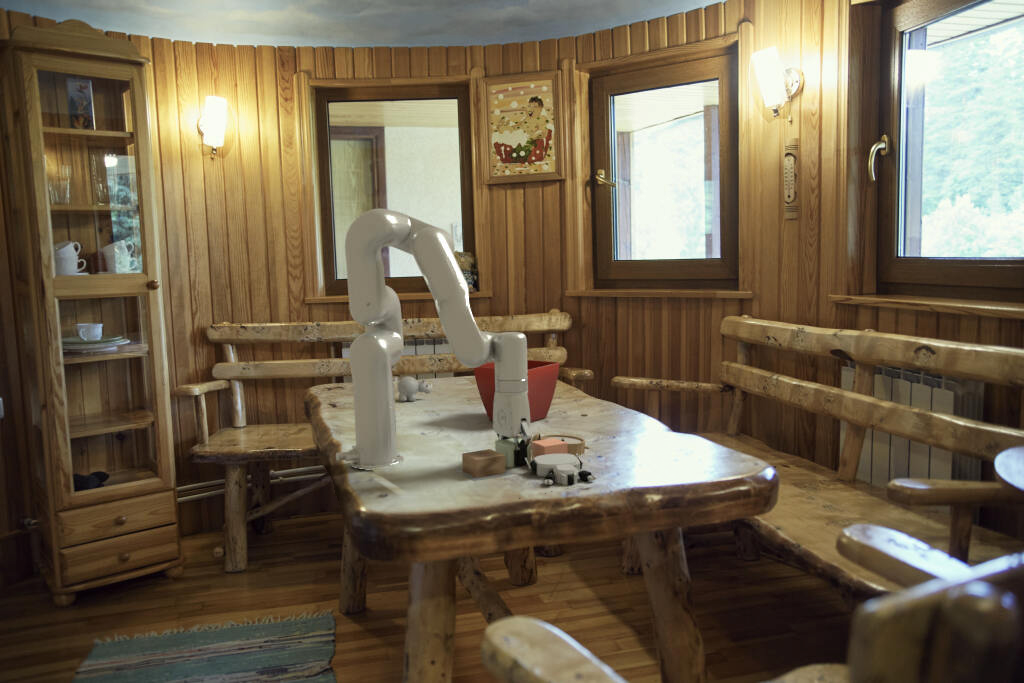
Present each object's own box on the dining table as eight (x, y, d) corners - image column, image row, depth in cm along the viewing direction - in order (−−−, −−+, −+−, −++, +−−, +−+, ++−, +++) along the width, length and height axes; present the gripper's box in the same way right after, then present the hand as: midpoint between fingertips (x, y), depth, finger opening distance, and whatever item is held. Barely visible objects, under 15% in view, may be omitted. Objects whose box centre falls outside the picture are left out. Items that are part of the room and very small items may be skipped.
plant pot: (524, 428, 223) (523, 369, 221) (473, 421, 235) (471, 365, 233) (562, 417, 238) (561, 362, 236) (511, 411, 250) (510, 358, 248)
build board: (474, 485, 168) (474, 480, 168) (453, 475, 176) (453, 470, 176) (514, 478, 173) (514, 473, 172) (493, 468, 181) (492, 464, 181)
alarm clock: (593, 444, 191) (535, 438, 187) (590, 463, 191) (532, 458, 187) (576, 434, 202) (521, 429, 197) (573, 453, 202) (518, 448, 198)
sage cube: (508, 471, 178) (508, 445, 177) (495, 466, 183) (495, 440, 183) (531, 467, 181) (530, 442, 180) (518, 462, 186) (517, 437, 186)
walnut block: (477, 478, 170) (476, 459, 169) (462, 471, 176) (462, 453, 175) (505, 473, 173) (505, 455, 173) (490, 466, 179) (489, 449, 179)
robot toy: (599, 491, 164) (576, 468, 179) (599, 471, 164) (576, 449, 178) (543, 497, 161) (524, 473, 176) (543, 476, 161) (524, 454, 175)
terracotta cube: (545, 472, 177) (544, 446, 176) (531, 467, 182) (531, 441, 181) (567, 468, 180) (567, 443, 179) (554, 463, 185) (553, 438, 184)
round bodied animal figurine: (433, 401, 271) (432, 376, 270) (398, 403, 269) (397, 378, 268) (431, 397, 278) (430, 373, 277) (397, 399, 276) (396, 375, 275)
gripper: (479, 383, 186) (481, 458, 188) (516, 393, 171) (518, 474, 173) (507, 380, 190) (509, 453, 191) (545, 389, 175) (547, 469, 176)
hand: (513, 462), depth 182 cm, fingers closed on sage cube, 6 cm apart
